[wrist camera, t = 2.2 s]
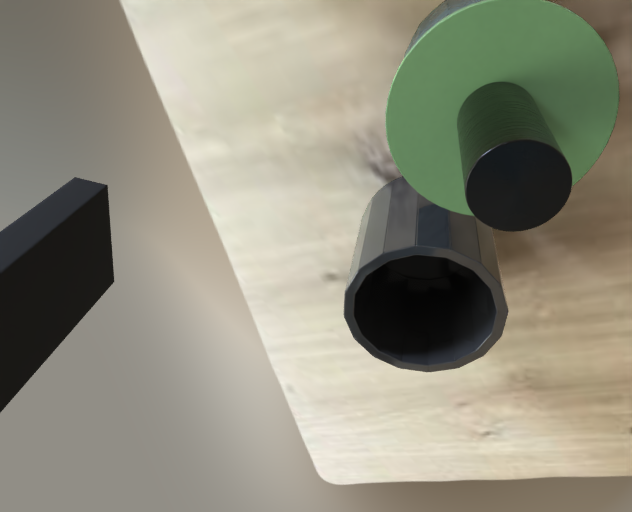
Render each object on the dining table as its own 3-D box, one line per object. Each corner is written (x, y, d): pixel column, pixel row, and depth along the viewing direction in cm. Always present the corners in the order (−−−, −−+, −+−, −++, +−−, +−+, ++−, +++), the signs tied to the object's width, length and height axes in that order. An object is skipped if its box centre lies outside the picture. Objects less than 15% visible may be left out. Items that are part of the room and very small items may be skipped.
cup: (474, 155, 39) (486, 228, 30) (502, 267, 44) (521, 359, 34) (344, 192, 42) (321, 267, 33) (384, 291, 47) (372, 380, 38)
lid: (598, -47, 24) (679, -28, 16) (623, 177, 29) (694, 274, 21) (358, 45, 28) (329, 96, 20) (419, 227, 33) (415, 324, 25)
